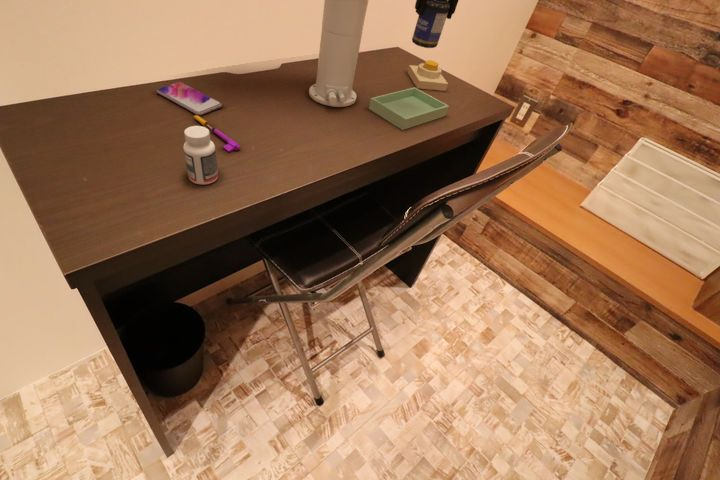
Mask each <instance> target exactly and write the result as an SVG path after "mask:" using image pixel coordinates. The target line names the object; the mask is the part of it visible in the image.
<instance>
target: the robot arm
mask: <svg viewBox="0 0 720 480" xmlns="http://www.w3.org/2000/svg"><path fill="white" fill-rule="evenodd" d="M448 3H449V4H450V8H449V11H448V14H447V17H446V19H448V20H451V19H452V16H453V15H454V14H455V13H456V9H457V6H458V3H459V0H448ZM368 4H369V0H324V4H323V12H322V20H321V21H322V22H321V33H320V42H319V53H318V61H317V70H316V80H315V83H313V84H311V86H310V87H309V88H308V95H309V97H310V99H312V100H313V101H314V102H316V103H319V104H321V105H323V106H328V107H331V108H332V107H333V108H344V107H349V106H352V105H354V104H355V103H356V101H357V98H358V97H357V93H356V92H355V90H353V86H354V82H355V75H356V74H355V73H356V69H357V64H358V59H359V53H360V49H361V48H360V47H361V42H362V38H363V37H362V36H363V30H364V25H365V19H366V14H367V8H368ZM425 4H426V0H416V1H415V4H414V9H415V13H416V14H417V15H418V16H419V15H422V14H423V11H424V7H425Z"/></svg>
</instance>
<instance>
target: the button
mask: <svg viewBox="0 0 720 480" xmlns="http://www.w3.org/2000/svg"><path fill="white" fill-rule="evenodd" d="M424 63H425V64H424V67H423V68H425V69H427V70H431V71H436V70H437V67H439V63H438V62H437V61H434V60H425V61H424Z"/></svg>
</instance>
